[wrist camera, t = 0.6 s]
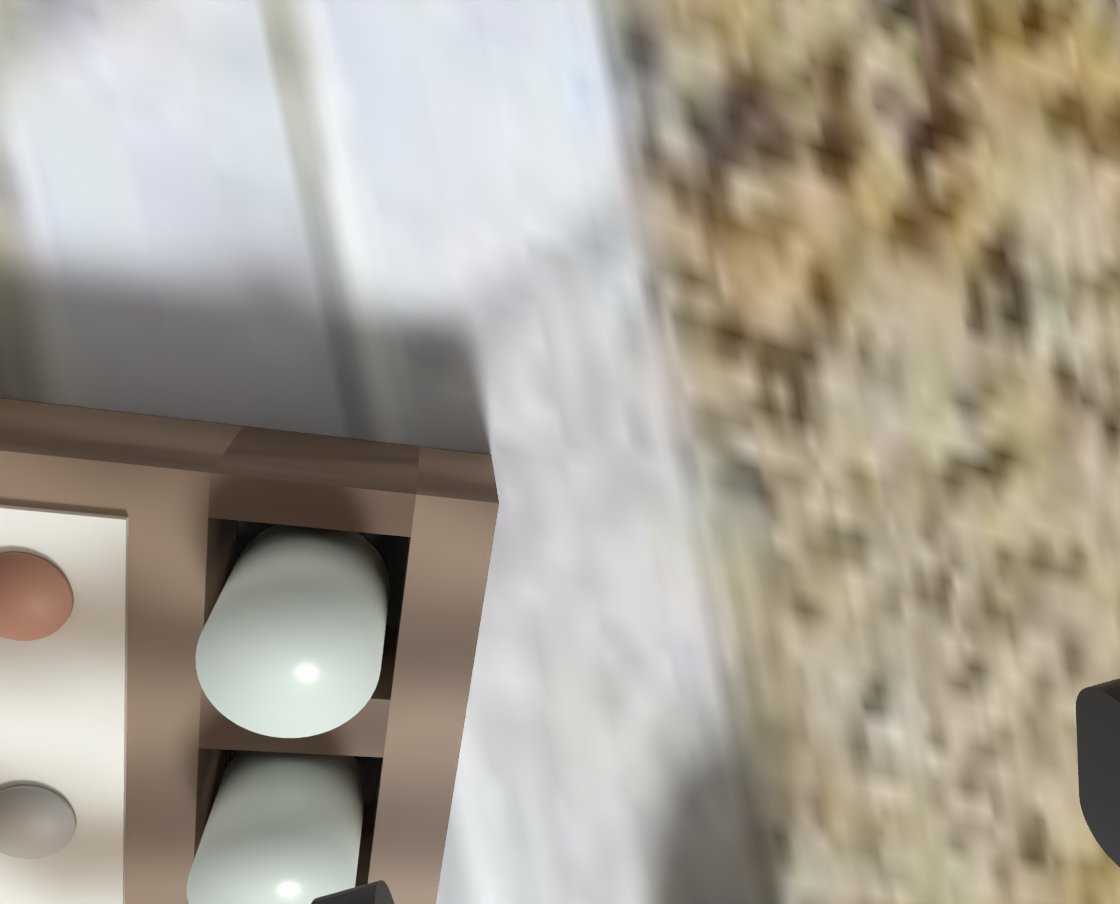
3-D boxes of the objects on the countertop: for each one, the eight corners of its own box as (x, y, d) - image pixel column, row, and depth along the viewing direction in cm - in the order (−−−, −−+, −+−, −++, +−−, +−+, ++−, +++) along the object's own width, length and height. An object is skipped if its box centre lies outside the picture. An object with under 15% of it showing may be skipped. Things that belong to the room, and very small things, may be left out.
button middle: (224, 727, 27) (189, 822, 23) (372, 736, 28) (362, 827, 24) (218, 843, 28) (184, 949, 24) (359, 847, 29) (347, 951, 25)
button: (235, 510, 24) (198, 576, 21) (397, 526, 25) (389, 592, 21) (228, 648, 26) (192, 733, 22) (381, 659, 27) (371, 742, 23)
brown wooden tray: (-56, 391, 25) (-154, 440, 21) (490, 454, 28) (499, 508, 23) (-20, 978, 32) (-87, 1100, 28) (411, 980, 35) (406, 1091, 31)
